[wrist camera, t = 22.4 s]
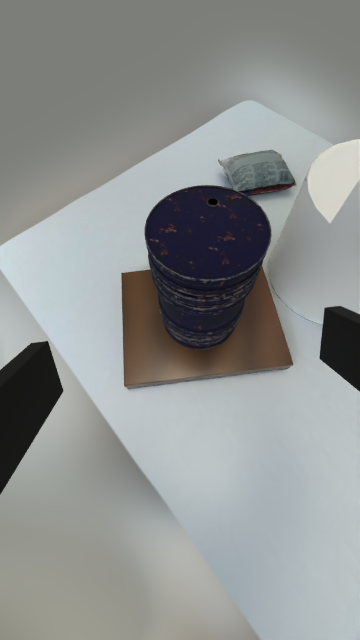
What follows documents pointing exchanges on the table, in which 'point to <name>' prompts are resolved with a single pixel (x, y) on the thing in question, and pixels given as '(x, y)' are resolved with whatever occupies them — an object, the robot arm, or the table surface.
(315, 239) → the cylinder
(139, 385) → the board
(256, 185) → the packaged food
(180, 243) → the navy ribbed canister
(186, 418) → the table surface
